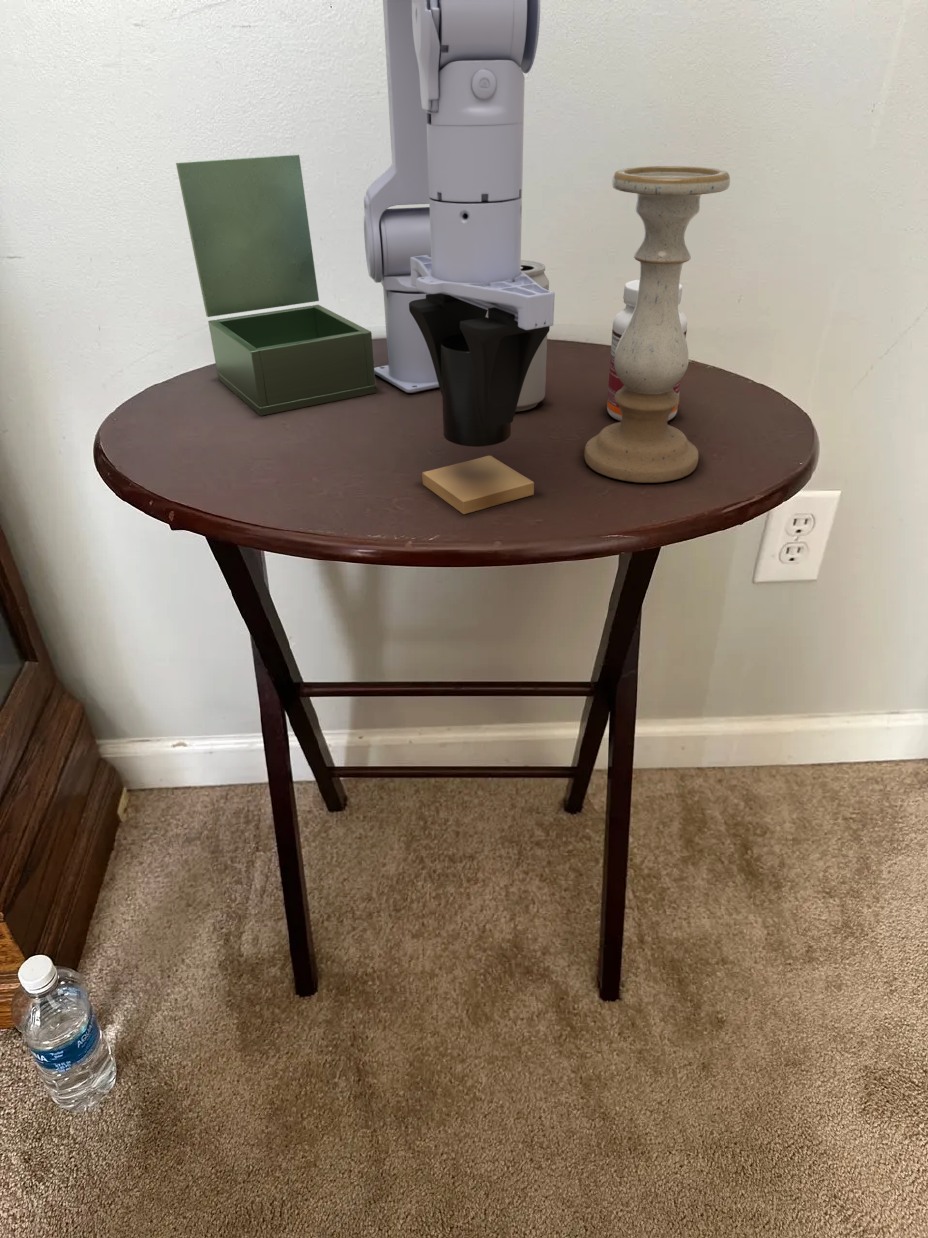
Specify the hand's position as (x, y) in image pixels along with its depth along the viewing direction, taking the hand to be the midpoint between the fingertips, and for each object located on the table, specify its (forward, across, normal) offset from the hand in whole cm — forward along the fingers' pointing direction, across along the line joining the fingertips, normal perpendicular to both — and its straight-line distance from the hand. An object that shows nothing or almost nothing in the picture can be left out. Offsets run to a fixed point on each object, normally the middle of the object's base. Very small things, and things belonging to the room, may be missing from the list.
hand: (477, 411), depth 59 cm
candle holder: (+6, +2, +14) cm, 15 cm away
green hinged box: (+6, -30, -2) cm, 31 cm away
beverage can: (+6, -14, +12) cm, 20 cm away
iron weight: (+2, 0, 0) cm, 2 cm away
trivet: (+6, 0, 0) cm, 6 cm away
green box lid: (-7, -37, -2) cm, 37 cm away
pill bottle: (+6, -6, +20) cm, 22 cm away
